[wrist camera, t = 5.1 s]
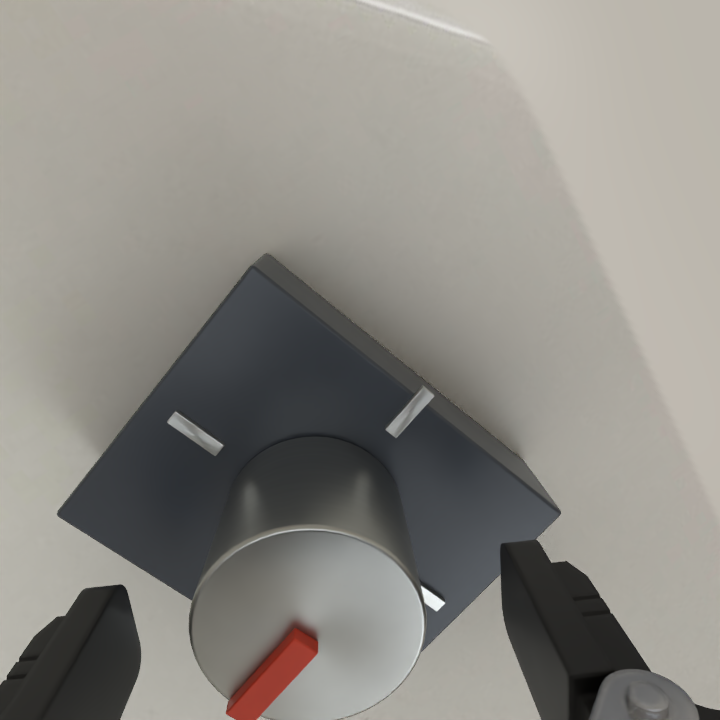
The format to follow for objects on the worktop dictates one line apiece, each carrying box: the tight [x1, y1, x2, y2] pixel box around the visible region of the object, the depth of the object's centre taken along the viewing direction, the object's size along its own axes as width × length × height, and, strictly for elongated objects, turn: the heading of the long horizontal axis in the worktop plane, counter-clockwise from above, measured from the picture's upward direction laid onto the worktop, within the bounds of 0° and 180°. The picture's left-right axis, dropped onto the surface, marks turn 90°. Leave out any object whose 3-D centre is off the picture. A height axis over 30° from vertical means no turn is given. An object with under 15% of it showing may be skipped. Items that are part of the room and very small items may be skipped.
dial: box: [189, 436, 427, 720], centre depth 12 cm, size 4×4×4 cm
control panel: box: [57, 253, 561, 652], centre depth 16 cm, size 10×9×3 cm
